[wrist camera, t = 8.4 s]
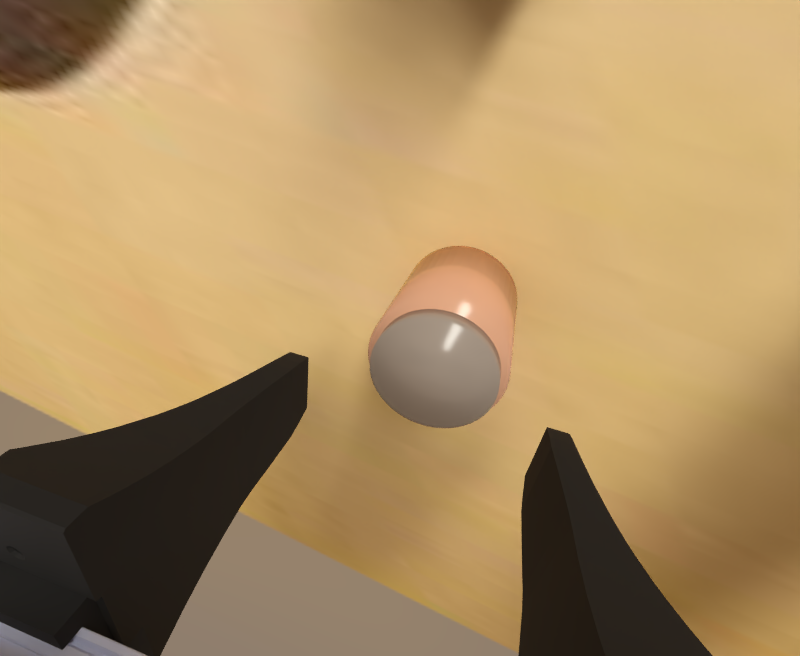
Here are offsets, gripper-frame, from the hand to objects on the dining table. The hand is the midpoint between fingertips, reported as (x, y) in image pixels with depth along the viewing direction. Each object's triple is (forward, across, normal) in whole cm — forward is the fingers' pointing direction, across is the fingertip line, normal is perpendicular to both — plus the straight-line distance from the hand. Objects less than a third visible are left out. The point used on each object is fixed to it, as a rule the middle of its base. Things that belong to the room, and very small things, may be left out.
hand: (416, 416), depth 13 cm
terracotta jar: (+8, 0, 0) cm, 8 cm away
